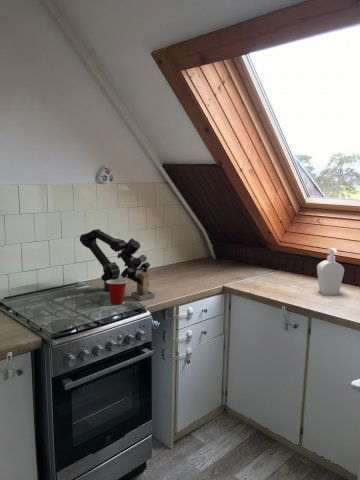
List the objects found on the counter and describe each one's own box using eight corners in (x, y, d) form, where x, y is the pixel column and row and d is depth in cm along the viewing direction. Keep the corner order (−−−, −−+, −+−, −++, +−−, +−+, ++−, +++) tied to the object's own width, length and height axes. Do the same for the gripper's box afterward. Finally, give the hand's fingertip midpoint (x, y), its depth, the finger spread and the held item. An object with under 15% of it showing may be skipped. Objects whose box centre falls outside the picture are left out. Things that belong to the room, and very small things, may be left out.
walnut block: (136, 296, 226) (136, 273, 223) (142, 294, 230) (142, 271, 227) (143, 298, 223) (143, 274, 221) (148, 296, 227) (148, 273, 225)
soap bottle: (321, 296, 231) (324, 250, 226) (315, 290, 240) (318, 246, 236) (344, 296, 231) (347, 250, 227) (336, 290, 241) (339, 246, 237)
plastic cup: (128, 299, 223) (128, 277, 221) (126, 306, 212) (126, 283, 210) (107, 299, 222) (107, 277, 220) (105, 306, 212) (104, 283, 210)
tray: (139, 301, 220) (139, 296, 220) (131, 296, 228) (131, 292, 227) (154, 297, 226) (154, 293, 225) (145, 293, 233) (145, 289, 233)
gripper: (125, 253, 217) (141, 277, 213) (147, 247, 232) (163, 270, 228) (114, 266, 223) (130, 289, 218) (136, 260, 238) (152, 281, 234)
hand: (144, 282), depth 224 cm, fingers open, 6 cm apart
